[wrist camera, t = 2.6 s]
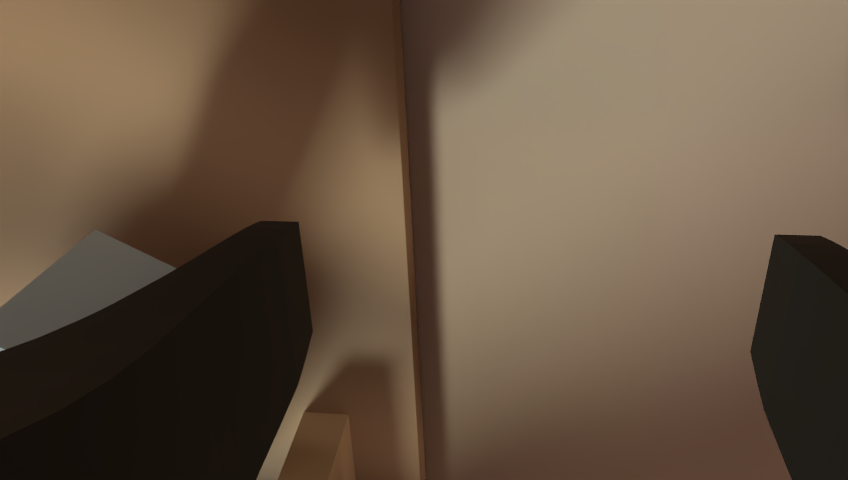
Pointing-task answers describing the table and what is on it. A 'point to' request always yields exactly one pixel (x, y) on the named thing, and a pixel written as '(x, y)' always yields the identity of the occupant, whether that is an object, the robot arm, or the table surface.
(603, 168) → the table surface
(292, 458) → the cradle
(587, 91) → the table surface
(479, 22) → the table surface
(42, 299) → the grey block
